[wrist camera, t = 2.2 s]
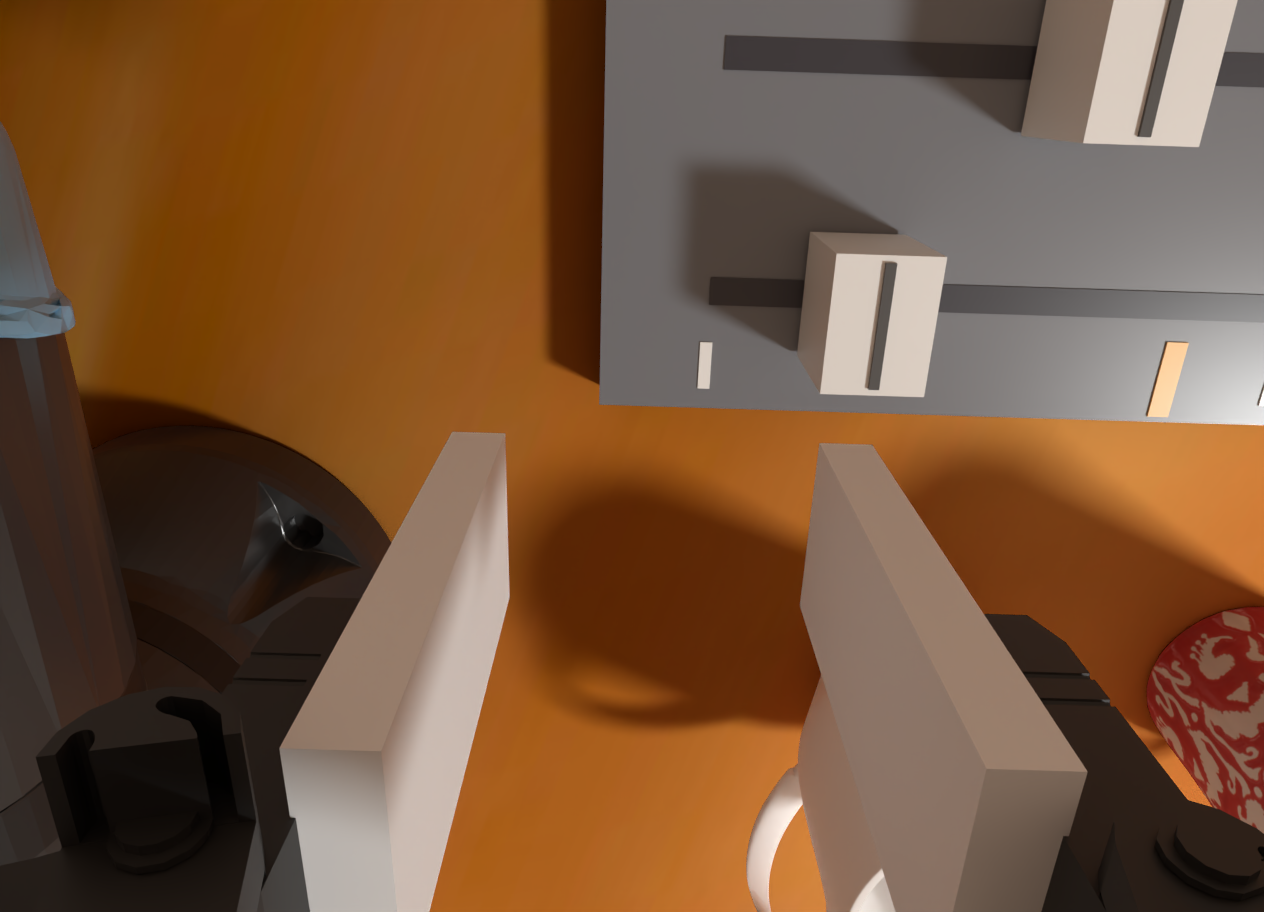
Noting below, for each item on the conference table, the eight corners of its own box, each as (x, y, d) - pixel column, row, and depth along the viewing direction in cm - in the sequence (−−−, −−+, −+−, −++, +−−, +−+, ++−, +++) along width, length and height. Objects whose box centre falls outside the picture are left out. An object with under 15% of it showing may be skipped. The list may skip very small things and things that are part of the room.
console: (601, 386, 32) (599, 405, 30) (610, -98, 26) (608, -112, 24) (1317, 408, 32) (1360, 428, 30) (1483, -67, 26) (1550, -80, 24)
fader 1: (796, 355, 29) (820, 395, 25) (809, 231, 27) (837, 254, 24) (887, 358, 29) (924, 398, 25) (906, 234, 27) (948, 257, 24)
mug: (924, 548, 34) (1069, 776, 23) (1024, 694, 37) (1196, 957, 26) (678, 694, 37) (704, 960, 26) (791, 819, 40) (856, 1105, 29)
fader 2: (1020, 135, 26) (1085, 143, 23) (1048, -15, 25) (1123, -34, 21) (1120, 138, 26) (1201, 147, 23) (1155, -11, 25) (1248, -30, 21)
